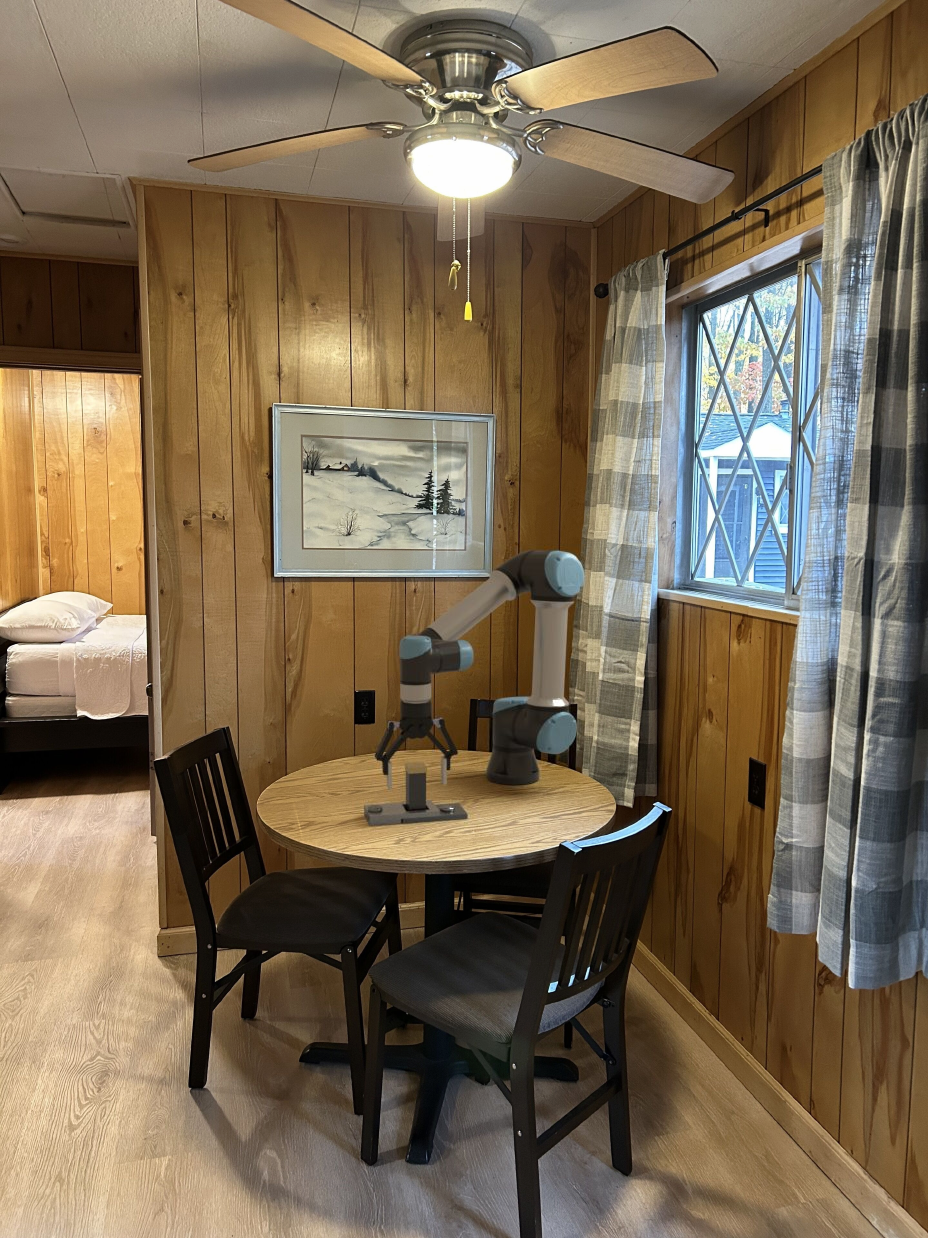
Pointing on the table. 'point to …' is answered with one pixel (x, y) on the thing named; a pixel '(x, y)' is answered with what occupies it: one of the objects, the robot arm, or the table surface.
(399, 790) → the table surface
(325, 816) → the table surface
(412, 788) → the link pin
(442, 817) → the plate
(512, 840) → the table surface
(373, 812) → the plate
